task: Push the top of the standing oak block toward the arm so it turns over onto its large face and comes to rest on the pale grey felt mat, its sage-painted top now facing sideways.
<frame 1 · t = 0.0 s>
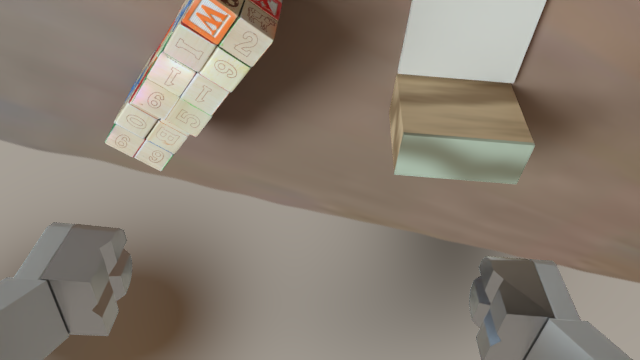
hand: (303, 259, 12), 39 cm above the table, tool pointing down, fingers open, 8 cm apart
felt mat: (468, 31, 49), on the table
oak block: (447, 98, 55), on the table
stack of blocks: (203, 35, 51), on the table
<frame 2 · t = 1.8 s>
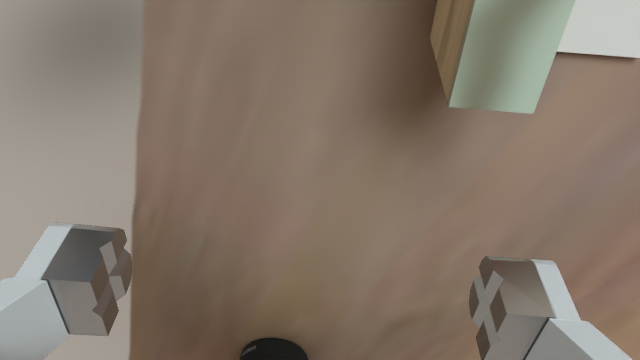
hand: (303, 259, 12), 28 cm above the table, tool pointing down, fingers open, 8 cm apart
pen holder: (275, 354, 66), on the table
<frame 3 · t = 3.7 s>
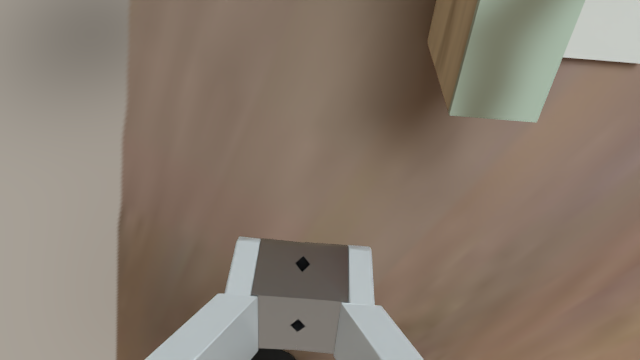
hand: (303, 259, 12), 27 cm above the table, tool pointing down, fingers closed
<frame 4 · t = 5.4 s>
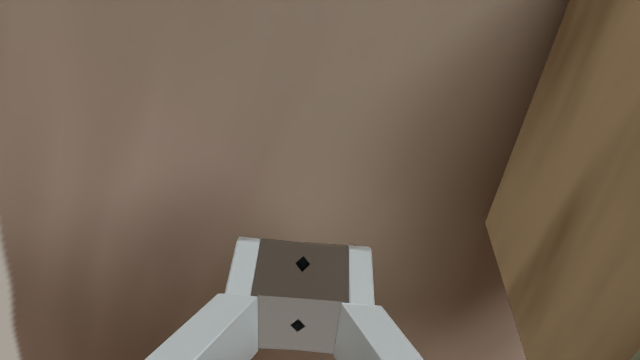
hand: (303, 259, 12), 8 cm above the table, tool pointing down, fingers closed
oak block: (598, 107, 18), on the table
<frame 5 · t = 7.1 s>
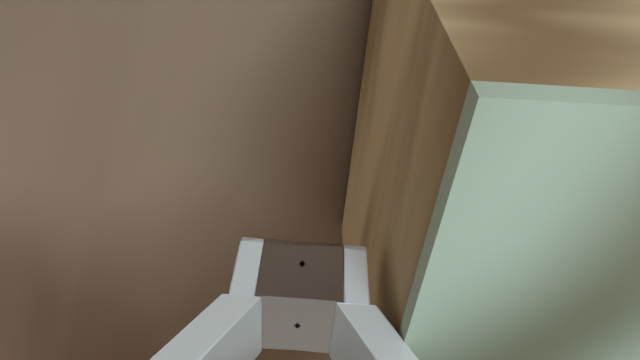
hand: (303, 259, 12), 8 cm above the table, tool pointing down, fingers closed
oak block: (430, 107, 18), on the table, touching gripper
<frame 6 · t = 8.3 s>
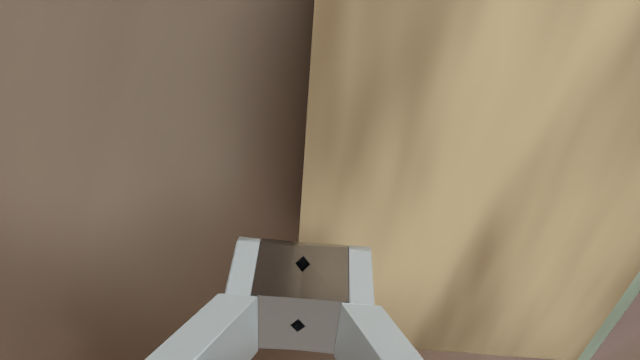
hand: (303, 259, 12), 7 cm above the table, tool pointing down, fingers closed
oak block: (306, 150, 15), point 3 cm above the table, tilted 90°, touching felt mat
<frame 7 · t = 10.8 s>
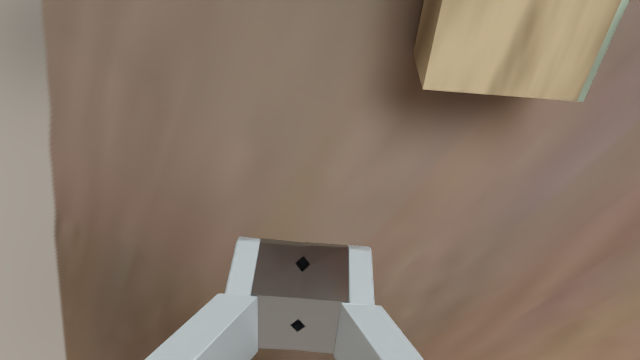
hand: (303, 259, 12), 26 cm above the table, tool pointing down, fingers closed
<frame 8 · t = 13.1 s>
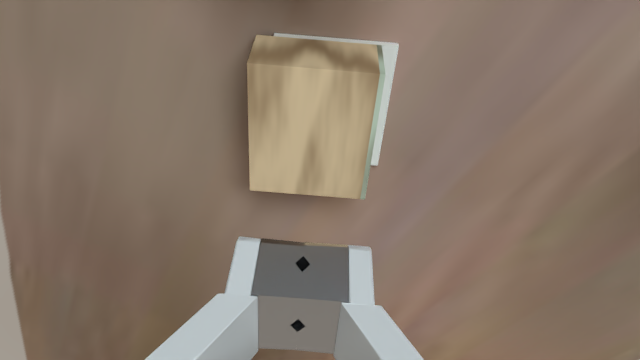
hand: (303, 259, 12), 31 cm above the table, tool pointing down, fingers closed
felt mat: (330, 102, 45), on the table
oak block: (252, 115, 42), point 3 cm above the table, tilted 90°, touching felt mat
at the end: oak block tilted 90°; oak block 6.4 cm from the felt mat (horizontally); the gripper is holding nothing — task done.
